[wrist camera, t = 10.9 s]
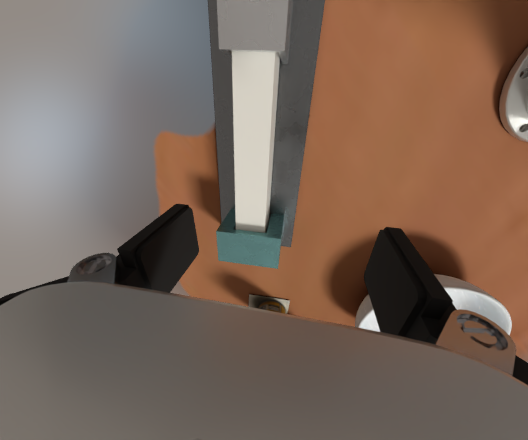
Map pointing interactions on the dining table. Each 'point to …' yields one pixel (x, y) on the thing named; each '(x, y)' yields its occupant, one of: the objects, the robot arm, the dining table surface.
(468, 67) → the dining table surface
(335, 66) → the dining table surface
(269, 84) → the white rectangular stick
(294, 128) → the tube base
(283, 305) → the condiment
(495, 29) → the dining table surface
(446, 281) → the serving bowl
